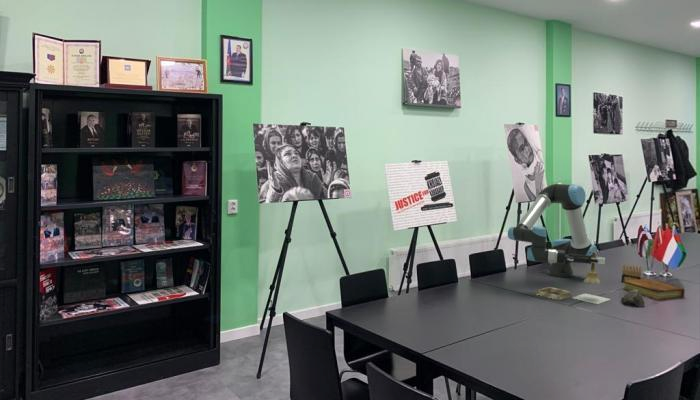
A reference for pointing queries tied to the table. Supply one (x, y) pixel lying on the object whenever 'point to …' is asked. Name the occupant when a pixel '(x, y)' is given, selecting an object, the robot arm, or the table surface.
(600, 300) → the mat
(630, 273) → the ammunition clip
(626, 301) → the fossil
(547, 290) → the bell cradle
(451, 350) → the table surface
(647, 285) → the diary
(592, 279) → the hand bell
